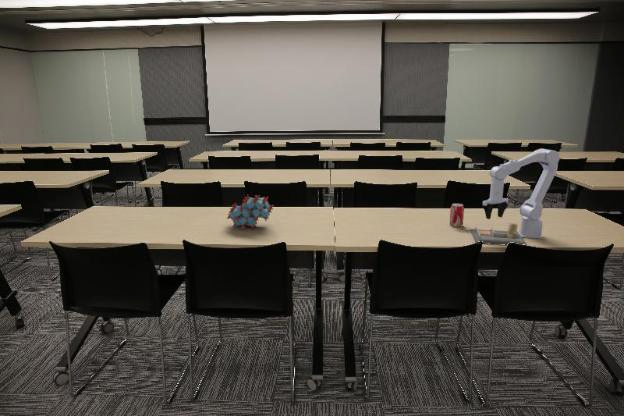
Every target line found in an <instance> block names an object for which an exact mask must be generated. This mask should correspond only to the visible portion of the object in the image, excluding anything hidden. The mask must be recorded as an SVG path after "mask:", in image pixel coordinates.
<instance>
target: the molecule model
mask: <svg viewBox="0 0 624 416" xmlns="http://www.w3.org/2000/svg"><path fill="white" fill-rule="evenodd" d="M268 199H269V196H267V197H265V196H263V197H261V195H260V194H259V195H254V197H251V196H249V194H247V196H244V199H242V203H241V205H238V204H237V203H236V202H234V204H232V205H231V207H229V209H230V210H229V211H228V214H227V217H226V220H228V219H231V220H232V222H233V225H232V226H231V227H232V228H234V227H235V228H236V227H237V228H238V227H240V228H239V230H246V229H247V228H246V226H249V227H251V229H253V230H254V228H256V227H257V225H256V224H258V222H259V219H263V220H265V221H267V220H269V219H270V216H271V214H272V213H273V211H272V210H274V208H273V207H274V206H275V205H274V204H269V201H268Z"/></svg>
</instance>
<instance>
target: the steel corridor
mask: <svg viewBox="0 0 624 416" xmlns="http://www.w3.org/2000/svg"><path fill="white" fill-rule="evenodd" d="M474 229H475V231H476V234H477V236H478V239H479V241H492V242H506V243H510V242H514V243H521V244H522V239H512V238H507V234H505V233H495V232H494V228H493V227H490V230H491V233H492V235H493V237H481V236H480V233H479V231H478V226H475V228H474ZM496 237H502V238H496ZM516 238H519V234H516Z"/></svg>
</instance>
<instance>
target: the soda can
mask: <svg viewBox="0 0 624 416" xmlns="http://www.w3.org/2000/svg"><path fill="white" fill-rule="evenodd" d="M449 210H450V211H449V225H450V226H451V227H453V228H461V227H462V226H463V224H464V213H465V207H464V204H463V203H459V202H457V203H455V202H454V203H452V204H451V207H450V209H449Z"/></svg>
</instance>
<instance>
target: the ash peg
mask: <svg viewBox="0 0 624 416" xmlns="http://www.w3.org/2000/svg"><path fill="white" fill-rule="evenodd" d="M517 230H518V224H517V223H512V222H509V223H508V225H507V231H508V232H507V238H512V239H516V234H517V232H518V231H517Z"/></svg>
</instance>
